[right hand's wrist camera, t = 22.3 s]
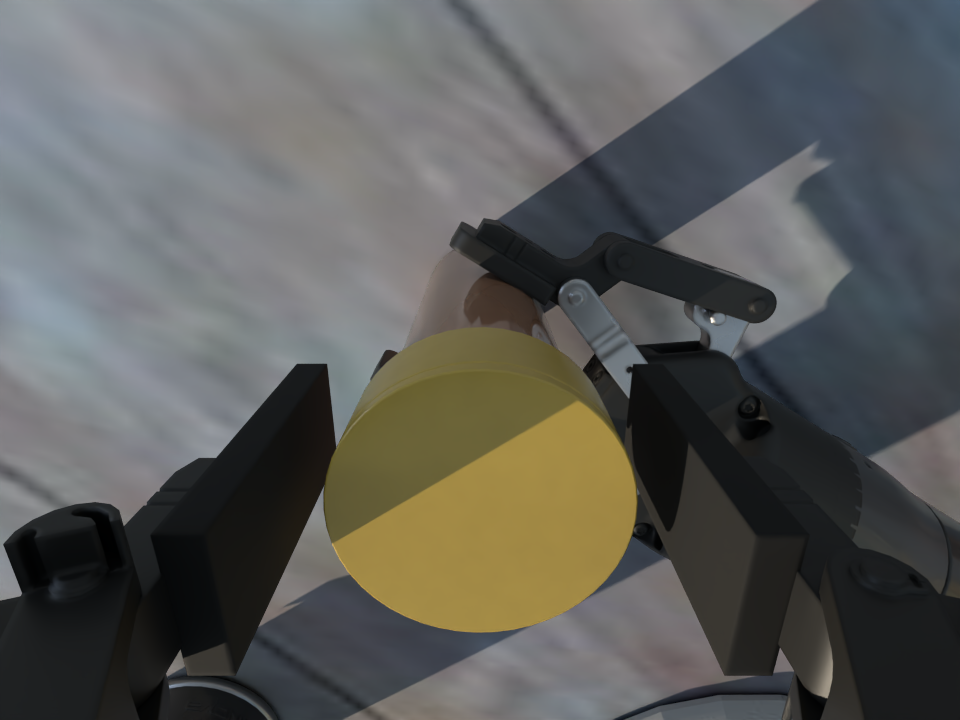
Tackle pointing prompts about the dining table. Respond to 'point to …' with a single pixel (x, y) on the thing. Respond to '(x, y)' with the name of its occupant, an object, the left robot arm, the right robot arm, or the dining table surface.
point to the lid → (480, 483)
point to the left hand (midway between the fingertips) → (416, 303)
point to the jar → (475, 303)
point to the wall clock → (720, 709)
